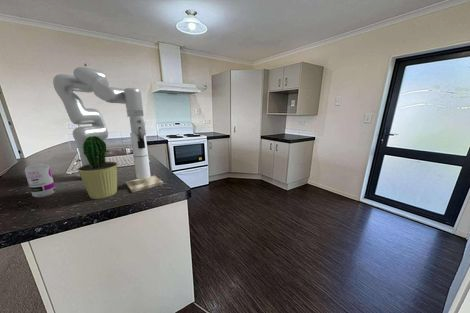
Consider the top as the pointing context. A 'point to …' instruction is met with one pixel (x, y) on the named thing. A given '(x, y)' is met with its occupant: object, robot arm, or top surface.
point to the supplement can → (40, 180)
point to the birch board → (143, 183)
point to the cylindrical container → (140, 158)
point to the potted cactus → (98, 170)
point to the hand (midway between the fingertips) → (139, 146)
